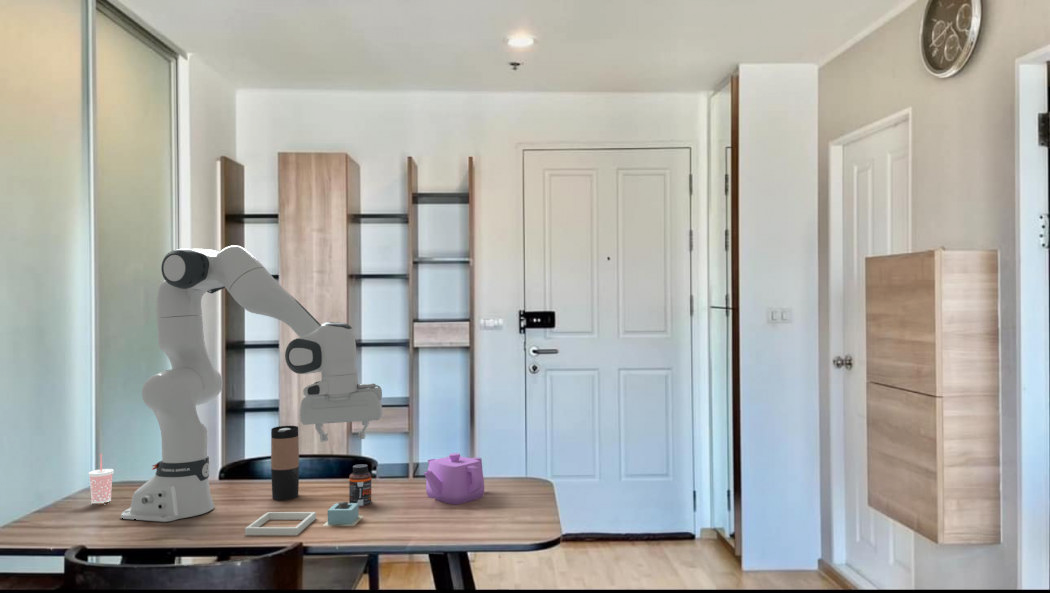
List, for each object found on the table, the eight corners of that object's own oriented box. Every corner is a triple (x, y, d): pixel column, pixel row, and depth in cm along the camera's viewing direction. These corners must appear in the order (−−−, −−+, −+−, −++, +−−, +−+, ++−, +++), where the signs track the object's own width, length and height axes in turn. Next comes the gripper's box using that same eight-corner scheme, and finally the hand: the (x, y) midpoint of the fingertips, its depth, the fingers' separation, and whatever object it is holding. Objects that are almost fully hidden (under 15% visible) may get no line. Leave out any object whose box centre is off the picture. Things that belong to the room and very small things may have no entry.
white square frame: (245, 539, 161) (244, 528, 161) (267, 522, 173) (267, 512, 173) (297, 539, 160) (297, 528, 160) (315, 522, 173) (315, 512, 173)
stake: (322, 529, 167) (322, 507, 167) (333, 519, 175) (332, 498, 175) (354, 529, 166) (354, 507, 166) (363, 519, 174) (363, 498, 174)
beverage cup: (87, 502, 193) (87, 453, 194) (112, 498, 197) (112, 450, 197) (89, 507, 189) (89, 457, 189) (115, 503, 192) (114, 454, 192)
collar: (327, 524, 168) (327, 510, 168) (337, 515, 175) (337, 501, 175) (351, 524, 167) (351, 510, 168) (360, 515, 175) (360, 501, 175)
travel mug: (290, 491, 202) (289, 424, 202) (304, 496, 197) (303, 427, 197) (266, 497, 196) (265, 428, 196) (280, 502, 191) (280, 431, 192)
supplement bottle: (365, 510, 182) (365, 468, 182) (345, 509, 183) (345, 467, 183) (375, 504, 188) (374, 463, 188) (355, 503, 189) (354, 462, 189)
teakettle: (484, 504, 186) (483, 459, 187) (422, 506, 186) (421, 461, 186) (485, 488, 204) (484, 447, 204) (428, 489, 203) (427, 448, 203)
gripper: (383, 381, 176) (386, 434, 176) (303, 386, 175) (306, 439, 175) (379, 384, 170) (382, 439, 169) (296, 389, 168) (299, 445, 168)
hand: (343, 439), depth 172 cm, fingers open, 8 cm apart
